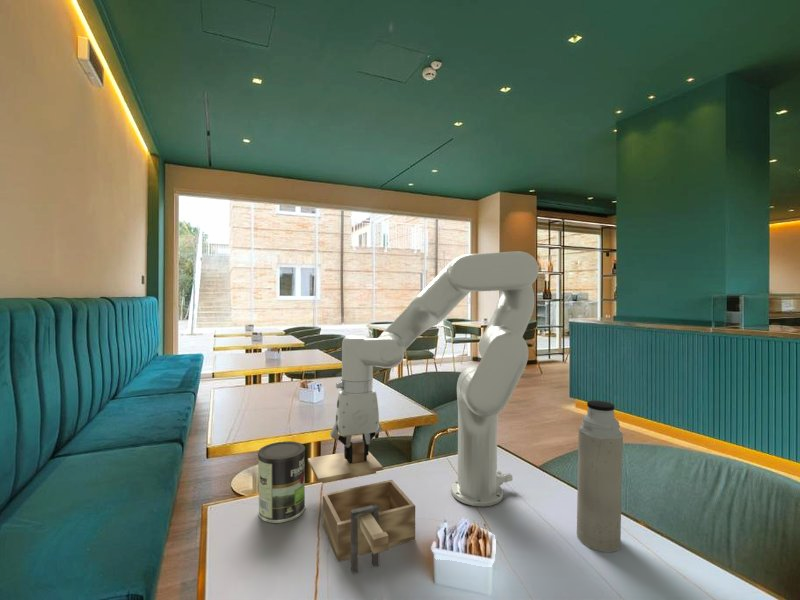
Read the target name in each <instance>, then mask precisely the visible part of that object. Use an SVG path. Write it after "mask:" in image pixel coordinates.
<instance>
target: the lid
mask: <svg viewBox="0 0 800 600" xmlns="http://www.w3.org/2000/svg"><path fill="white" fill-rule="evenodd" d="M351 446H352V449H353V450H352V463H349V462H348V461H347V459H345V457H344V452H339V453H338V452H337V453H334V454H332V453H331V454H327V455H320V456H314V457H313V456H312V457H309V458H307V462H308V465H309V466H310V468H311V470H312V473H313V474H314V476H315V479H316V481H317V482H318V483H322V484H327V483H333V482H337V481H344V480H348V479H353V478H359V477H364V476H368V475H375V474H376V473H377V472H379V471H383V470H384V468H383V467H384V466H383V465H382V464H381V463H380V462H379V461H378V459H376V458H375V456H373V454H372V453H371V452H370V451H369V450H368V455H367V461H364V441H363V440H362V436H360V437H355V438H354V437H353V438H351Z"/></svg>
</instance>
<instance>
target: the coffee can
mask: <svg viewBox="0 0 800 600" xmlns="http://www.w3.org/2000/svg"><path fill="white" fill-rule="evenodd" d="M305 453H306V447H305V445H304V444H303V443H301V442H298V441H297V442H296V441H290V440H289V441H287V440H286V441H278V442H272V443H269V444H266V445H265V446H263V447H261V448H260V449H259V450H258V451H257V458H258V459H257V460H258V469H257V470H258V517H259V518H260V519H261V520H262V521H264V522H266V523H270V524H283V523H285V522H290V521H293V520H296V519H297V518H299V517H300V516H301V515H302V514H303V513H304V512H305V509H306V505H305V504H306V503H305V502H306V499H305V498H306V497H305V492H306V491H305V489H306V488H305V487H306V484H305V481H306V480H305V476H306V475H305V473H306V472H305V464H306V463H305V458H306V456H305Z"/></svg>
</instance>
